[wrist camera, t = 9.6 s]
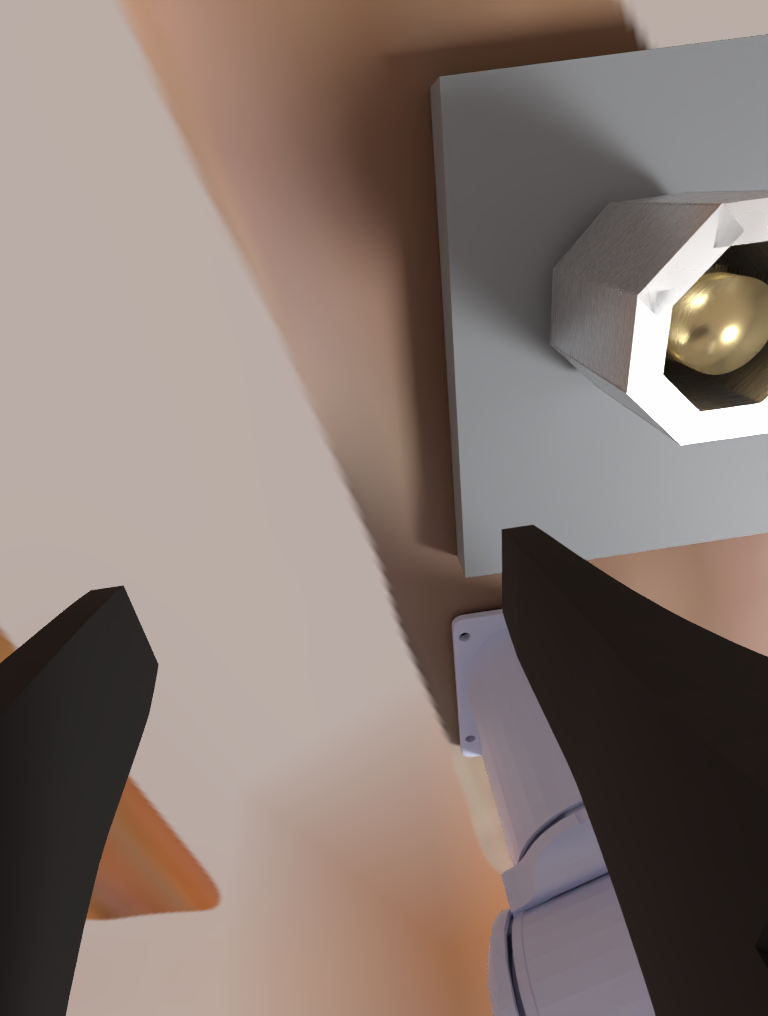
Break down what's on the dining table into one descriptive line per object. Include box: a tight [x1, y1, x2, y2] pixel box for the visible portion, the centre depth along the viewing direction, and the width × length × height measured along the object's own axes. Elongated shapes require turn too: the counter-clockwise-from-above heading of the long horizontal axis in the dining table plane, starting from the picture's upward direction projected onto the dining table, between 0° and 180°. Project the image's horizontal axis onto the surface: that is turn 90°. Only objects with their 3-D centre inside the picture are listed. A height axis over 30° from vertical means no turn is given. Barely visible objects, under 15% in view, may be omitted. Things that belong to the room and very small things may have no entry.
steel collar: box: [550, 190, 768, 445], centre depth 14 cm, size 5×5×5 cm
